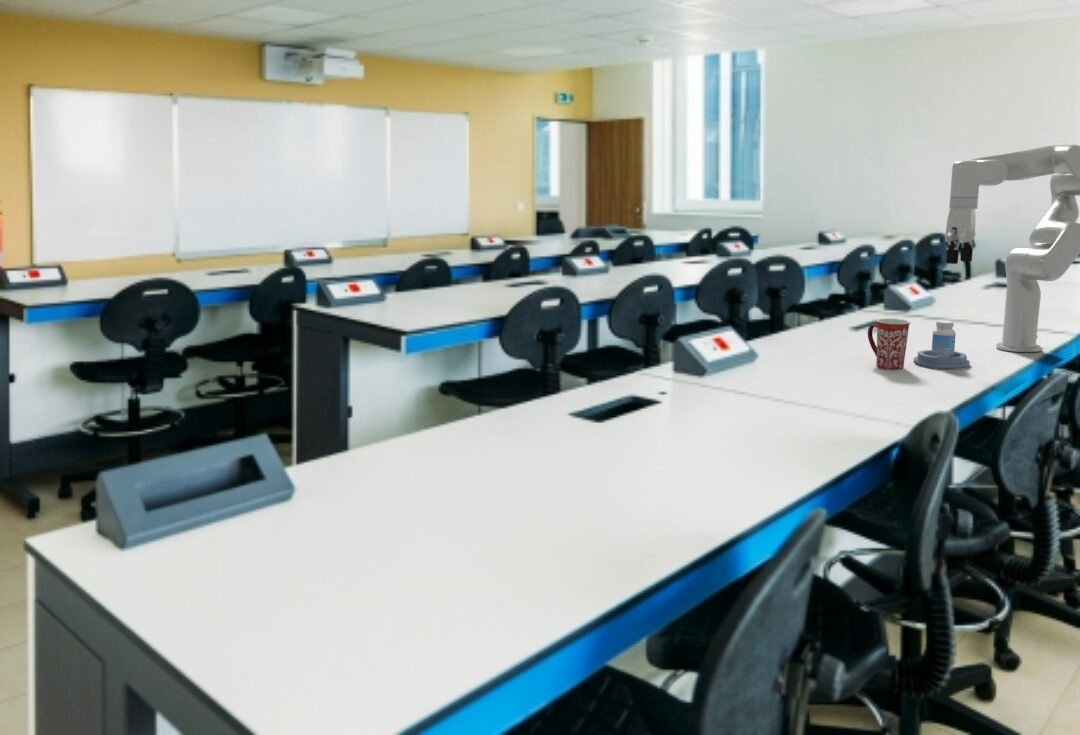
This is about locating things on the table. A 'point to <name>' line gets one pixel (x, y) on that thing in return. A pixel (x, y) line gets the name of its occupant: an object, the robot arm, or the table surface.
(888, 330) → the mug
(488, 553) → the table surface
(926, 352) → the round tray
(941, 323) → the pill bottle
